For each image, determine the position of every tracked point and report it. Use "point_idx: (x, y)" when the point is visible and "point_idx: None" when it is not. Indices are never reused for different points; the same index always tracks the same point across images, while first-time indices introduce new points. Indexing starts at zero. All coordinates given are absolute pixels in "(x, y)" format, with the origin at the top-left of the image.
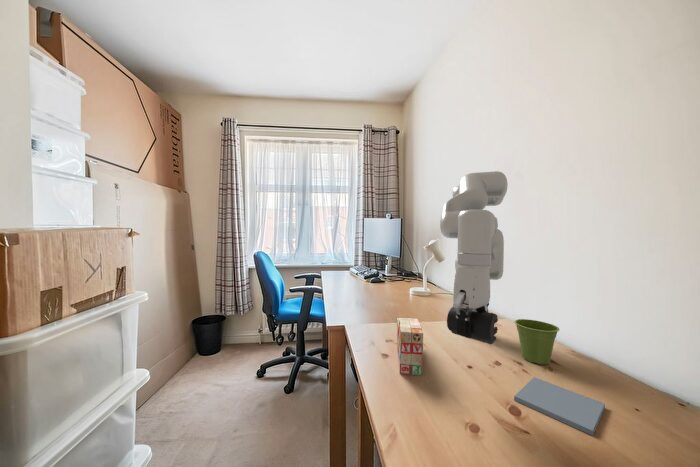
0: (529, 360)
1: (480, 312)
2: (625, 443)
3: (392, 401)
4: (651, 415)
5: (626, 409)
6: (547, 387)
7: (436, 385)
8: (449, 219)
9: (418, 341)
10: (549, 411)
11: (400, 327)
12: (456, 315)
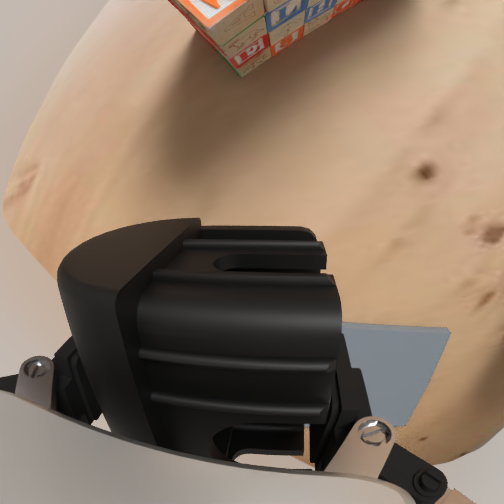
0: None
1: (326, 450)
2: (308, 441)
3: (78, 113)
4: (414, 448)
5: (415, 433)
6: (414, 363)
7: (225, 139)
8: None
9: (204, 29)
10: None
11: None
12: (21, 368)
